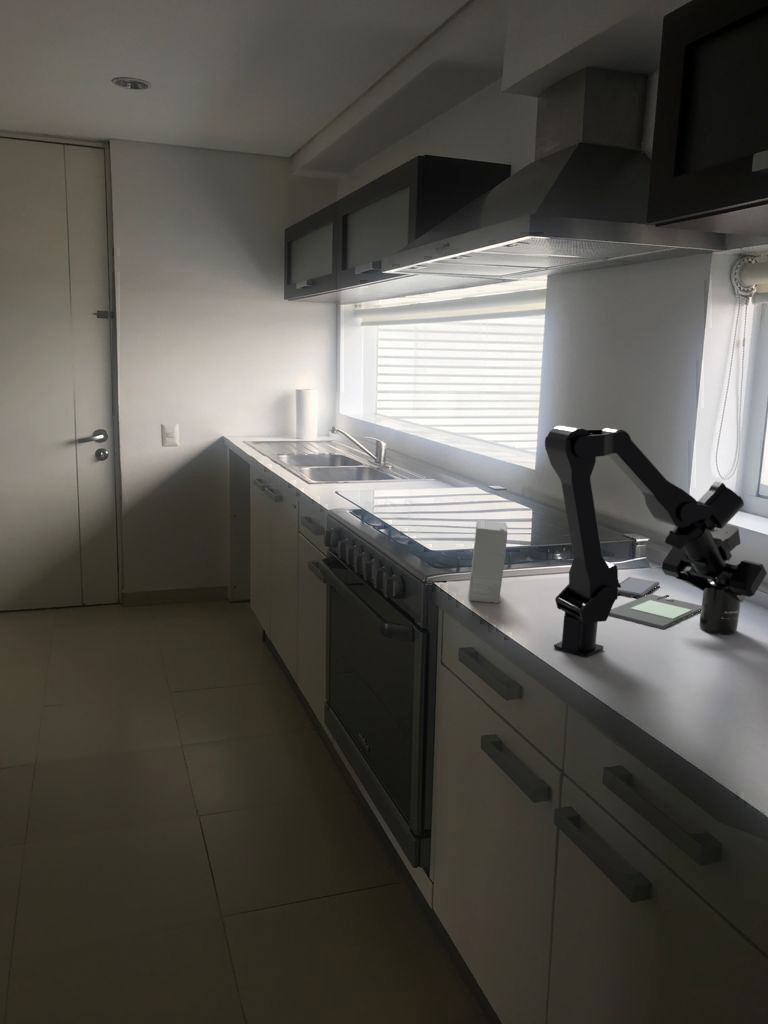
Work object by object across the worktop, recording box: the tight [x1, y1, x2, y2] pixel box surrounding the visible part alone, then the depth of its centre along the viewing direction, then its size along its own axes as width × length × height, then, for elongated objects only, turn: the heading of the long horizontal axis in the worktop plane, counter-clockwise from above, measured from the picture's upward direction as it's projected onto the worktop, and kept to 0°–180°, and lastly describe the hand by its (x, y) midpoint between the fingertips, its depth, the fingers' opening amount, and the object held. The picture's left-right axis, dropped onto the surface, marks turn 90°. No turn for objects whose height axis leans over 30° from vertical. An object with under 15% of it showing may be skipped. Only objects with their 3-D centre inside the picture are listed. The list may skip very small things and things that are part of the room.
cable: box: [618, 592, 670, 600], centre depth 186 cm, size 7×9×1 cm
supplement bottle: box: [698, 575, 742, 636], centre depth 164 cm, size 7×7×12 cm
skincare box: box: [468, 519, 508, 604], centre depth 179 cm, size 8×7×16 cm
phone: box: [618, 576, 660, 599], centre depth 192 cm, size 14×7×1 cm, turn 148°
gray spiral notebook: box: [609, 593, 702, 630], centre depth 175 cm, size 20×12×1 cm, turn 138°
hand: (725, 595), depth 165 cm, fingers closed on supplement bottle, 7 cm apart
